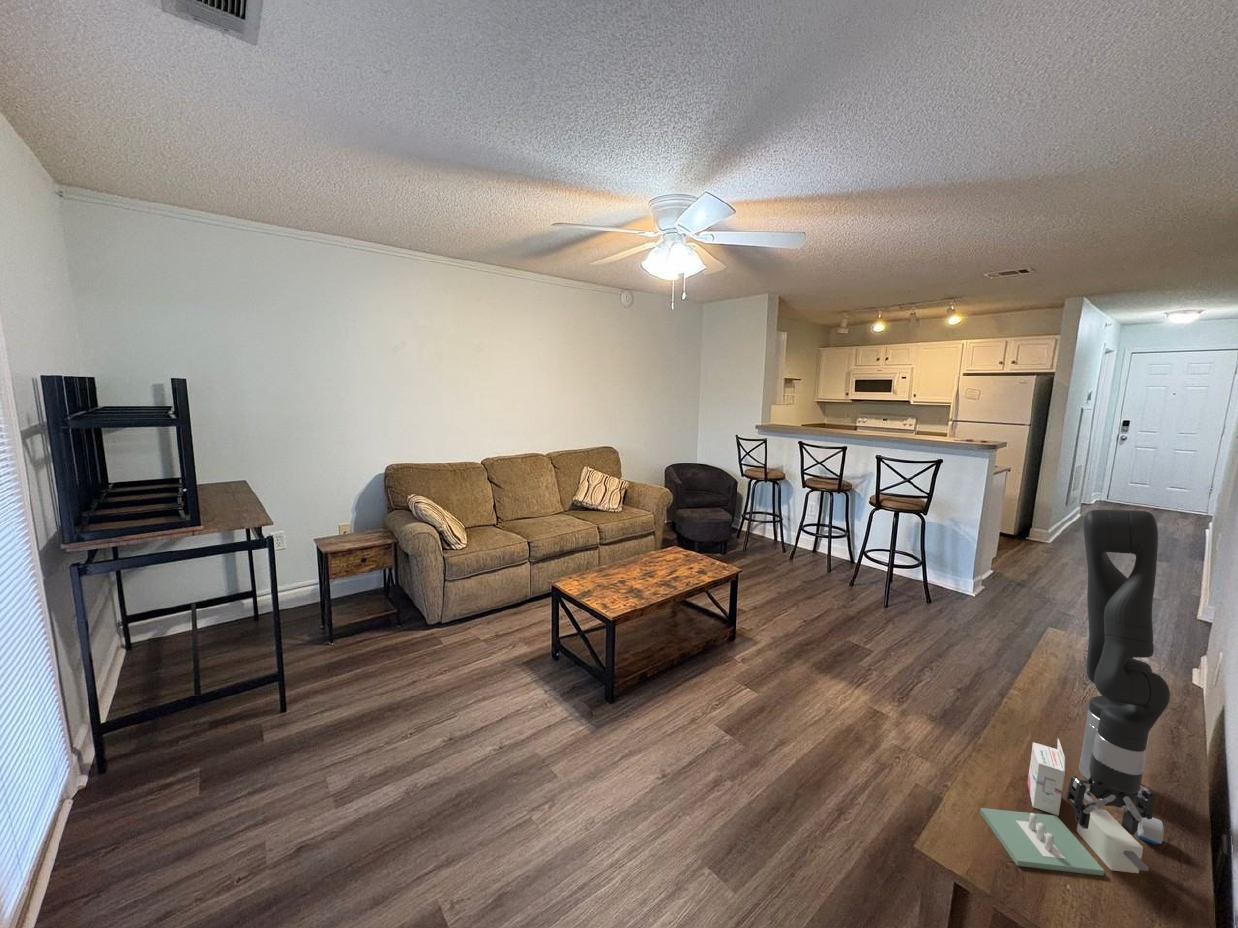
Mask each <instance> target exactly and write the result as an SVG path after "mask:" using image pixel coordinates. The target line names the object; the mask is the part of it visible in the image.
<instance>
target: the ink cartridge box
mask: <svg viewBox="0 0 1238 928" xmlns="http://www.w3.org/2000/svg"><path fill="white" fill-rule="evenodd" d="M1065 775H1066V756H1065V754H1064V751H1063V748H1062V745H1061V741H1060V739H1059V738H1057V748H1054V747H1050V746H1048V745H1044V744H1041V743H1037V742H1034V741H1032V748H1031V755H1030V762H1029V771H1028V776H1027V782H1026V783H1027V788H1028V792H1029V796H1030V800H1031V806H1032V808H1035V809H1037V810H1041V811H1043V812H1047V813H1049V814H1051V815H1054V816H1059V815H1060V809H1061V803H1062V797H1063V796H1062V795H1063V787H1064V783H1065V777H1066V776H1065Z"/></svg>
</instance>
